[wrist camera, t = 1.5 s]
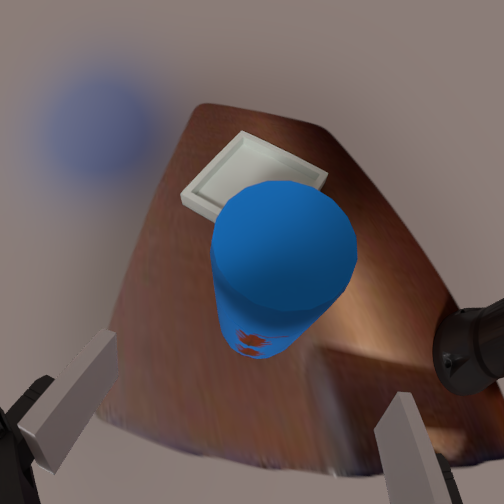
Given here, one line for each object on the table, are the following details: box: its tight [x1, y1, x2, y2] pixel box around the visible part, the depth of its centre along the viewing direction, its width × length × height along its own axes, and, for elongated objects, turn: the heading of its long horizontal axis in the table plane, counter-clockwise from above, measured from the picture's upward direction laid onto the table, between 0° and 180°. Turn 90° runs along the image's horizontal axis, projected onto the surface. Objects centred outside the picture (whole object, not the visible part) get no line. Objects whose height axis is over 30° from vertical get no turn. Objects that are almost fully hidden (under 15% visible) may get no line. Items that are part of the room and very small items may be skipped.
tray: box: [181, 131, 328, 223], centre depth 53 cm, size 18×18×3 cm
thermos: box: [210, 181, 357, 359], centre depth 34 cm, size 11×11×25 cm
